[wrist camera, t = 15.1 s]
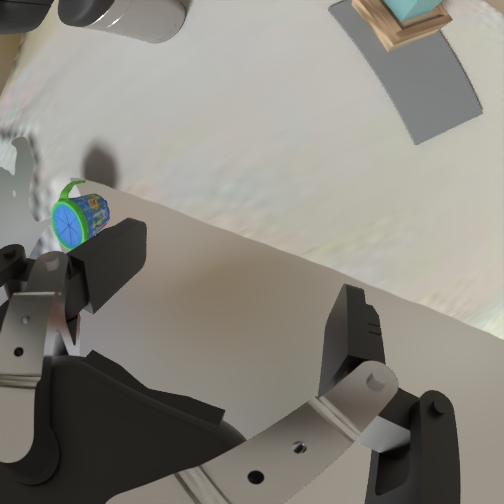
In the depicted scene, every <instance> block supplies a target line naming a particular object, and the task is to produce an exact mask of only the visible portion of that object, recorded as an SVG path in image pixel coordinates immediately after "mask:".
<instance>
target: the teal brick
mask: <svg viewBox="0 0 504 504" xmlns="http://www.w3.org/2000/svg"><path fill="white" fill-rule="evenodd" d="M383 1H384V2H385V3H386V4H387V5H388V7H389V8H390V9H391V10H392V12H393V13H394V14H395V16H396V17H397V18H398V19H399V21H400V22H403V21H406V20H409V19H412V18H415V17H418V16H421V15H424V14H427V13H430V12H431V11H432V10H433V9H434V8H435V7H436V6H437V5H438V4H439V3H440V2H441V1H442V0H383Z"/></svg>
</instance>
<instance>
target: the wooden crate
mask: <svg viewBox="0 0 504 504" xmlns="http://www.w3.org/2000/svg"><path fill="white" fill-rule="evenodd" d="M352 6H353V7H354V8H355V9H356V10H357V12H358V13H359V14H360V15H361V16H362V18H363V19H364V20H365V21H366V23H367V24H368V25H369V27H370V28H371V29H372V30H373V32H374V33H375V34H376V36H377V37H378V39H379V40H380V41H381V43H382V44H383V46H384V47H385V48H386V50H387V51H391V50H393V49H395V48H398V47H400V46H403V45H405V44H408V43H410V42H413V41H416V40H418V39H421V38H424V37H426V36H429V35H432V34H434V33H435V32H437V31H438V30H439V29H441V28H442V27H443V26H445V25H446V24H448V23H449V22H450V21H452V20H453V19H452V18H451V16H450V15H449V14H448V12H447V11H446V9H445V8H444V7H443V5H442V4H441V3H439V4H438V5H437V6H436V7H435V8H434V9H433V10H432V11H431V12H430V13H427V14H424V15H421V16H418V17H415V18H412V19H409V20H406V21H403V22H400V21H399V19H398V18H397V17H396V16H395V14H394V13H393V12H392V10H391V9H390V8H389V7H388V5H387V4H386V3H385V2H384V1H383V0H352Z"/></svg>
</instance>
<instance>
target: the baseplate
mask: <svg viewBox="0 0 504 504" xmlns="http://www.w3.org/2000/svg"><path fill="white" fill-rule="evenodd" d="M328 11H329V12H330V13H331V14H332V15H333V17H334V18H335V19H336V20H337V21H338V23H339V24H340V25H341V26H342V28H343V29H344V30H345V31H346V33H347V34H348V35H349V37H350V38H351V39H352V41H353V42H354V43H355V45H356V46H357V47H358V49H359V50H360V52H361V53H362V54H363V56H364V57H365V59H366V60H367V62H368V63H369V65H370V66H371V68H372V69H373V71H374V72H375V74H376V75H377V77H378V78H379V80H380V82H381V83H382V85H383V86H384V88H385V90H386V91H387V93H388V95H389V97H390V98H391V100H392V102H393V104H394V105H395V107H396V109H397V111H398V113H399V114H400V116H401V118H402V120H403V122H404V124H405V126H406V128H407V130H408V132H409V134H410V136H411V138H412V140H413V142H414V144H415V145H418V144H420V143H422V142H424V141H426V140H428V139H430V138H433V137H435V136H437V135H439V134H441V133H443V132H445V131H447V130H449V129H451V128H453V127H456V126H458V125H460V124H462V123H464V122H466V121H468V120H470V119H472V118H475V117H477V116H479V115H481V114H483V112H482V110H481V107H480V105H479V103H478V100H477V98H476V96H475V94H474V92H473V90H472V88H471V85H470V83H469V81H468V79H467V78H466V76H465V74H464V72H463V70H462V68H461V66H460V64H459V63H458V61H457V59H456V57H455V56H454V54H453V52H452V51H451V49H450V47H449V46H448V44H447V42H446V41H445V39H444V38H443V36H442V35H441V33H440V32H439V30H438V31H437V32H435V33H434V34H432V35H429V36H426V37H424V38H421V39H418V40H416V41H413V42H410V43H408V44H405V45H403V46H400V47H398V48H395V49H393V50H391V51H387V50H386V48H385V47H384V46H383V44H382V43H381V41H380V40H379V39H378V37H377V36H376V34H375V33H374V32H373V30H372V29H371V28H370V27H369V25H368V24H367V23H366V21H365V20H364V19H363V18H362V16H361V15H360V14H359V13H358V12H357V10H356V9H355V8H354V7H353V6H352V0H346V1H343V2H341V3H338V4H336V5H334V6H332V7H329V8H328Z"/></svg>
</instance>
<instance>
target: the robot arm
mask: <svg viewBox="0 0 504 504" xmlns="http://www.w3.org/2000/svg"><path fill="white" fill-rule="evenodd" d="M53 1H54V0H0V34H19V33H25V32H29V31H32V30H34V29H36V28H37V27H38V26H39V25H40V24H41V23H42V21H43V20H44V18H45V16H46V15H47V13H48V11H49V9H50V7H51V4H52V3H53ZM58 15H59V18H60V20H61V21H62V22H63V23H64V24H66V25H70V26H76V27H83V28H89V29H95V30H100V31H105V32H110V33H114V34H119V35H123V36H127V37H131V38H135V39H139V40H142V41H146V42H150V43H161V42H164V41H166V40H168V39H170V38H171V37H173V36H174V35H175V34H176V33H177V32H178V31H179V29H180V28H181V26H182V24H183V22H184V19H185V9H184V7H183V5H182V4H181V3H180V2H179V1H177V0H59V3H58ZM146 235H147V227H146V224H145V223H144V222H142V221H139V220H136V219H132V218H126V219H125V220H123V221H121V222H120V223H118V224H117V225H115V226H112V227H109V228H106V229H104V230H102V231H100V232H99V233H97V234H96V236H95V235H94V236H92V237H91V238H89V240H86V241H85V242H83V243H82V244H80V245H79V246H77V247H76V248H74V249H73V250H71V251H70V252H68V253H67V254H65V253H63V252H60V251H52V252H47V253H45V254H43V255H41V256H39V257H38V258H37V259H36V260H34V259H29V258H26V254H25V250H24V247H23V246H22V245H19V244H12V245H8V246H5V247H3V248H2V249H0V287H1V286H3V285H4V288H5V291H6V294H7V297H8V300H7V301H6V302H5V303H3V304H2V305H1V306H0V504H283V503H284V502H286V501H287V500H288V499H290V498H291V497H292V496H294V495H295V494H296V493H298V492H299V491H300V490H301V489H303V488H304V487H305V486H307V485H308V484H309V483H310V482H311V481H313V480H314V479H315V478H316V477H317V476H319V475H320V474H321V473H322V472H323V471H324V470H325V469H327V468H328V467H329V466H330V465H331V464H332V463H333V462H334V461H336V460H337V459H338V458H339V457H340V456H341V455H342V454H343V453H344V452H345V451H346V450H347V449H348V448H349V447H350V446H351V445H352V444H353V443H354V442H355V441H356V442H358V443H360V444H362V445H364V446H366V447H368V448H371V449H372V453H371V462H370V471H369V478H368V485H367V492H366V499H365V504H460V460H459V447H458V437H457V428H456V421H455V414H454V408H453V406H452V403H451V402H450V400H449V399H448V398H447V397H446V396H445V395H444V394H442V393H441V392H439V391H434V390H430V391H427V392H425V393H424V394H423V395H422V396H421V397H420V398H418V397H416V396H414V395H412V394H410V393H408V392H406V391H404V390H402V389H401V388H399V387H398V379H397V377H396V375H395V373H394V372H393V371H392V370H391V369H390V368H389V367H387V366H386V364H385V355H384V347H383V341H382V336H381V335H382V333H381V328H380V320H379V315H378V314H377V312H376V311H375V309H374V308H373V306H372V305H368V304H366V302H365V294H364V290H363V289H361V288H358V287H355V286H351V285H348V284H344V285H343V286H342V288H341V290H340V293H339V295H338V297H337V299H336V301H335V304H334V306H333V308H332V310H331V312H330V314H329V317H328V320H327V323H326V327H325V333H324V345H323V356H322V367H321V375H320V383H319V391H318V397H313V398H311V399H310V400H308V401H307V402H306V403H304V404H303V405H301V406H300V407H299V408H297V409H296V410H294V411H293V412H291V413H290V414H288V415H287V416H285V417H284V418H283V419H281V420H279V421H278V422H276V423H275V424H273V425H272V426H270V427H269V428H267V429H265V430H264V431H262V432H261V433H259V434H257V435H256V436H254V437H252V438H250V439H249V440H246V439H245V438H244V436H243V435H242V434H241V433H240V432H239V431H238V430H236V429H235V428H234V427H233V426H231V425H230V424H228V423H227V422H225V421H224V420H223V417H224V413H225V410H223V409H220V408H217V407H215V406H211V405H209V404H206V403H203V402H201V401H198V400H196V399H193V398H191V397H188V396H183V395H177V394H172V393H167V392H162V391H157V390H152V389H148V388H147V387H145V386H144V385H143V384H141V383H140V382H139V381H138V380H137V379H135V378H134V377H133V376H132V375H131V374H130V373H128V372H127V371H126V370H125V369H124V368H123V367H122V366H120V365H119V364H117V363H115V362H113V361H112V360H110V359H108V358H106V357H104V356H103V355H101V354H99V353H97V352H96V351H94V350H92V351H91V352H90V353H89V354H88V355H87V357H81V356H79V339H80V321H81V316H80V311H81V310H82V309H84V310H86V311H88V312H90V313H92V314H94V313H96V311H97V310H99V309H100V308H101V307H102V306H103V305H104V304H105V303H106V302H107V301H108V300H109V299H110V298H111V297H112V296H113V295H114V294H115V293H116V292H117V291H118V290H119V289H120V288H121V287H122V286H123V285H125V284H126V283H127V282H128V281H129V280H130V279H131V278H132V277H133V276H134V275H135V274H136V273H138V272H139V271H140V270H141V268H142V267H143V265H144V263H145V260H146Z"/></svg>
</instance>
